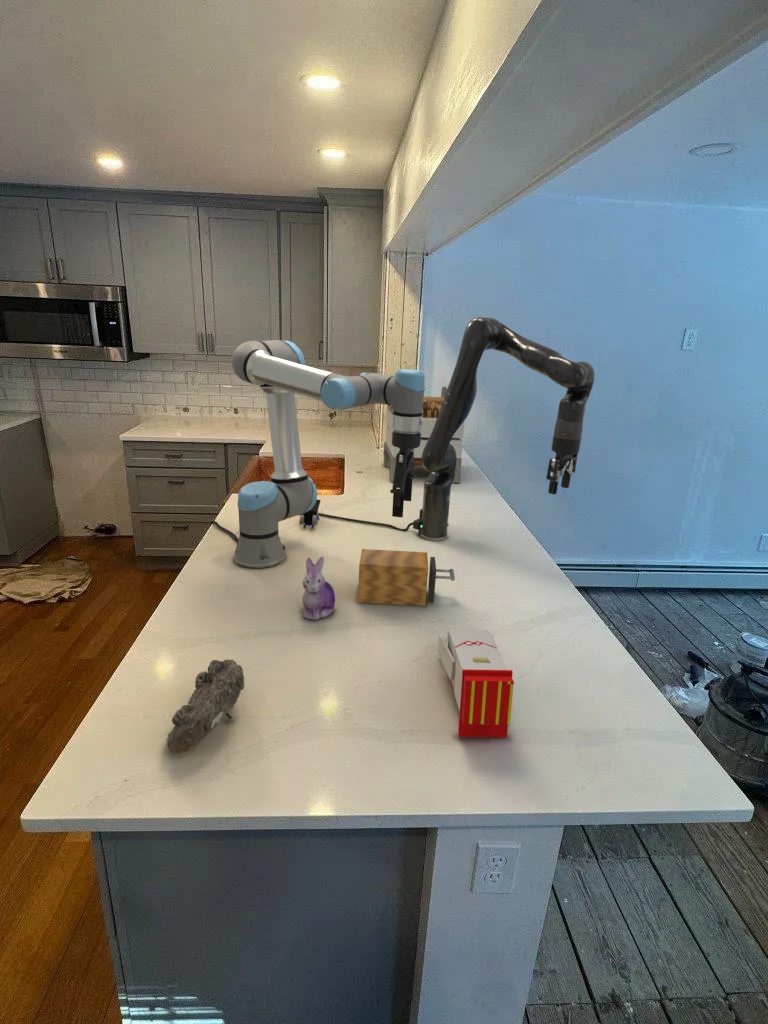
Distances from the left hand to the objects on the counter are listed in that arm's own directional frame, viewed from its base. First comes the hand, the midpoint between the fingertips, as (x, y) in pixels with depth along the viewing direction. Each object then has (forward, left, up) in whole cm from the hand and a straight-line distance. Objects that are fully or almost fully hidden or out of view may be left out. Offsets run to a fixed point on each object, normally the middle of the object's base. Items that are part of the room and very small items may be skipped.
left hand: (402, 508), depth 154 cm
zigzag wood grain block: (+1, -6, -24) cm, 24 cm away
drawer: (+6, -3, -23) cm, 24 cm away
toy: (+34, -35, -24) cm, 54 cm away
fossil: (-7, -67, -24) cm, 72 cm away
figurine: (-11, -24, -24) cm, 35 cm away
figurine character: (-48, +27, -24) cm, 60 cm away
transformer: (-43, +113, -24) cm, 123 cm away
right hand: (+35, +31, +3) cm, 47 cm away
